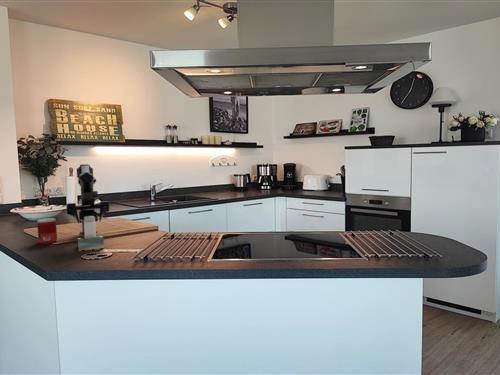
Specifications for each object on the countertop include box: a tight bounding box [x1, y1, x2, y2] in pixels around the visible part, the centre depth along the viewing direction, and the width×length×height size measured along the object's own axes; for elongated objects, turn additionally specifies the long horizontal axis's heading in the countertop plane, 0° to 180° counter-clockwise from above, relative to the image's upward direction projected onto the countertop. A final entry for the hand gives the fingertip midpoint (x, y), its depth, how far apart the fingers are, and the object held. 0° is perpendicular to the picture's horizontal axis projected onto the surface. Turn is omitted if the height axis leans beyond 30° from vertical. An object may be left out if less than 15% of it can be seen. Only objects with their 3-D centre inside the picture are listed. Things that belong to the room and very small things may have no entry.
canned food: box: [36, 217, 58, 245], centre depth 181 cm, size 8×8×11 cm
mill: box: [83, 216, 97, 239], centre depth 170 cm, size 5×5×13 cm
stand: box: [77, 235, 105, 252], centre depth 171 cm, size 11×10×5 cm
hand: (89, 222), depth 174 cm, fingers open, 9 cm apart
